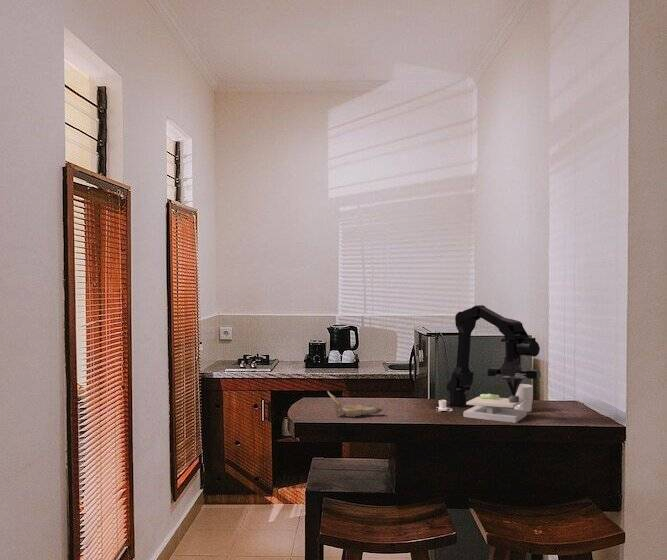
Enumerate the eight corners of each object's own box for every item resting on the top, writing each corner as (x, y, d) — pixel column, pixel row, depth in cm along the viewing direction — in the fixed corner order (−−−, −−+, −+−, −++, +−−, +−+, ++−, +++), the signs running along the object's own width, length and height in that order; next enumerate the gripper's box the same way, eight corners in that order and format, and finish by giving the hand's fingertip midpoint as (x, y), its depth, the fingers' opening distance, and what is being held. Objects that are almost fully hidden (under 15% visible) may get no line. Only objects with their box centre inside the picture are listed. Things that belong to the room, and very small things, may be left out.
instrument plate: (466, 404, 236) (465, 396, 236) (478, 399, 247) (477, 391, 247) (513, 407, 226) (513, 399, 226) (524, 401, 237) (523, 393, 237)
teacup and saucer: (446, 413, 244) (446, 403, 244) (428, 411, 249) (428, 401, 249) (456, 410, 251) (456, 400, 251) (438, 407, 256) (438, 398, 256)
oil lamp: (327, 414, 245) (327, 389, 245) (381, 413, 245) (381, 388, 245) (328, 419, 236) (327, 393, 236) (383, 418, 237) (383, 392, 237)
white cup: (510, 411, 245) (510, 386, 245) (514, 407, 252) (514, 383, 252) (531, 413, 242) (530, 387, 242) (534, 409, 248) (534, 384, 249)
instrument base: (463, 416, 236) (463, 405, 236) (476, 410, 248) (476, 399, 248) (515, 422, 225) (515, 410, 225) (526, 415, 237) (526, 403, 237)
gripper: (481, 355, 231) (482, 397, 231) (532, 357, 221) (533, 401, 221) (491, 352, 241) (492, 392, 240) (540, 354, 230) (541, 396, 230)
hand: (514, 395), depth 233 cm, fingers closed
